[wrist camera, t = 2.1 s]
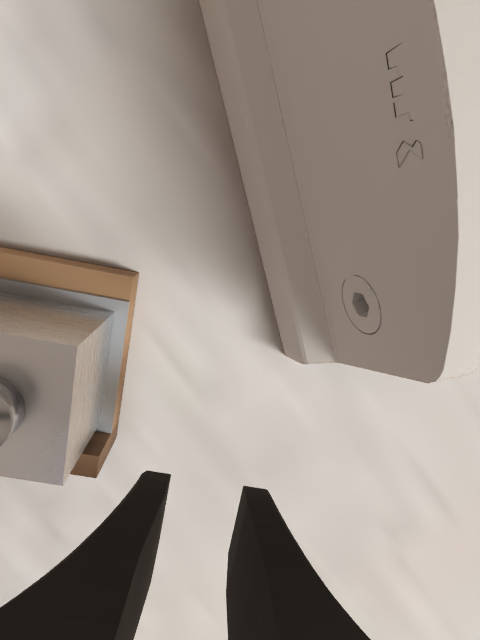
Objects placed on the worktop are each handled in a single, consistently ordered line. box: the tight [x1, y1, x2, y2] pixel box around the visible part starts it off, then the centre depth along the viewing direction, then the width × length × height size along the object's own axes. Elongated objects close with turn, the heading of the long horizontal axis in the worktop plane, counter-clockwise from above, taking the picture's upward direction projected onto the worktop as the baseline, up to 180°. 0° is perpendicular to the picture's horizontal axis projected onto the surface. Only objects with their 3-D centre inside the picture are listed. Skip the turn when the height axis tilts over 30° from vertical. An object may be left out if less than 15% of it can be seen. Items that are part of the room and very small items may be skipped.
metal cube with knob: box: [0, 291, 115, 486], centre depth 16 cm, size 5×5×6 cm
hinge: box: [199, 0, 480, 383], centre depth 14 cm, size 17×5×10 cm, turn 14°
